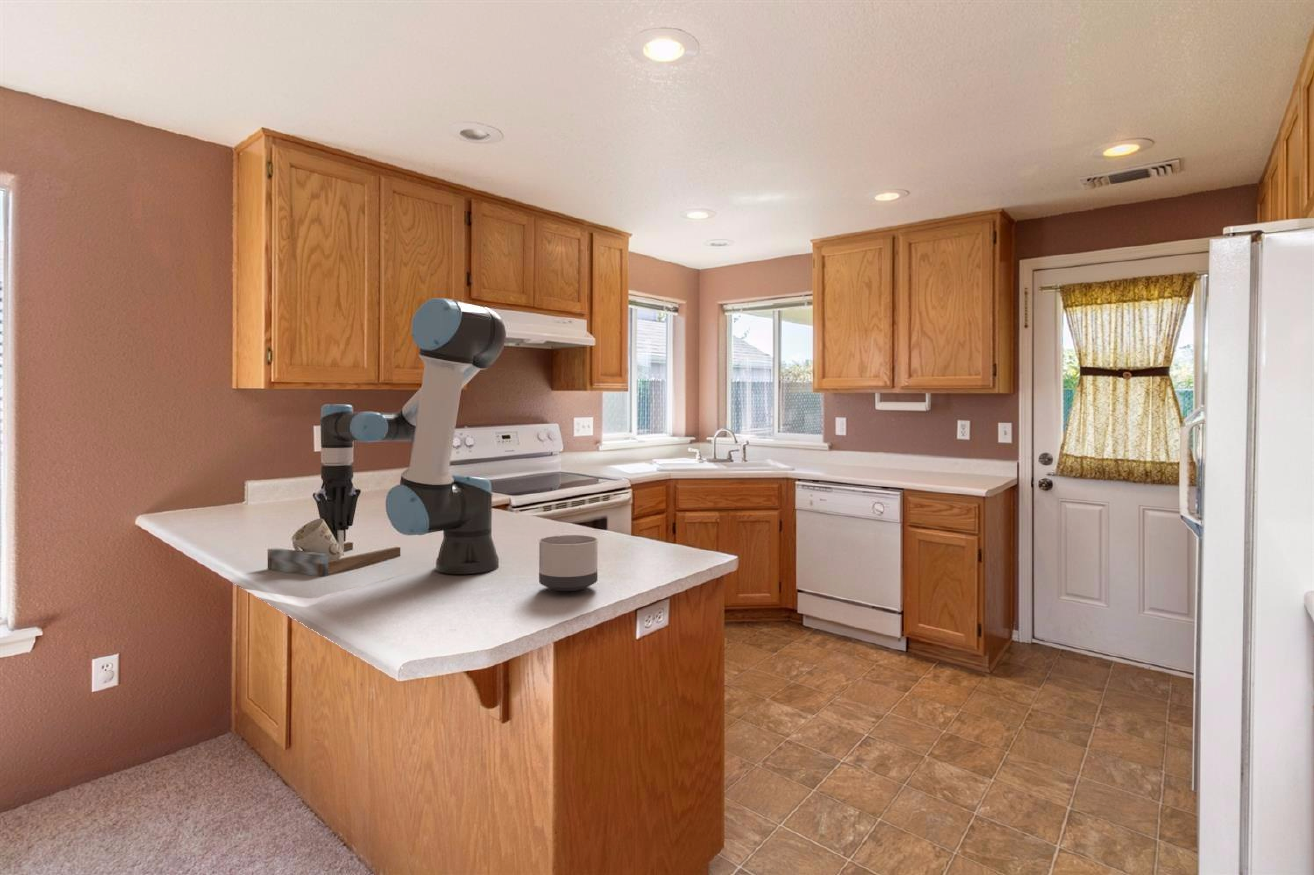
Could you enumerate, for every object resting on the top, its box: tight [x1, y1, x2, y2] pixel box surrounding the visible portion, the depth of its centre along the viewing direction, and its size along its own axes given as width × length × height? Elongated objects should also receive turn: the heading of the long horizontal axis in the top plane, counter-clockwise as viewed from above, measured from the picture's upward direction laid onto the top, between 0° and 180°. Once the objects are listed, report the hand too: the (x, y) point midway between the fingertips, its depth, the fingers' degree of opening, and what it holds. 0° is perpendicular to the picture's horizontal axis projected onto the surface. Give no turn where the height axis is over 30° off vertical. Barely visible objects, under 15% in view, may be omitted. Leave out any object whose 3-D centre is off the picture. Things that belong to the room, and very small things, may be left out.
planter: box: [538, 534, 599, 592], centre depth 146 cm, size 13×13×10 cm
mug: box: [291, 517, 343, 561], centre depth 165 cm, size 8×13×10 cm
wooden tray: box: [267, 541, 401, 577], centre depth 170 cm, size 19×24×5 cm
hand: (337, 555), depth 171 cm, fingers closed
